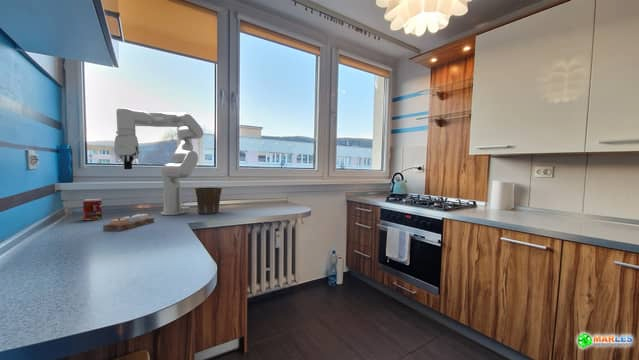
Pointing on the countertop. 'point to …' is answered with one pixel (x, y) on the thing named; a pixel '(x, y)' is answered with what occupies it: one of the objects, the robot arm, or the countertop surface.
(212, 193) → the plant pot
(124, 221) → the tile three pip
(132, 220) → the tile two pip
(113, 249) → the countertop surface
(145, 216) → the tile one pip
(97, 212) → the canned food
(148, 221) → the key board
